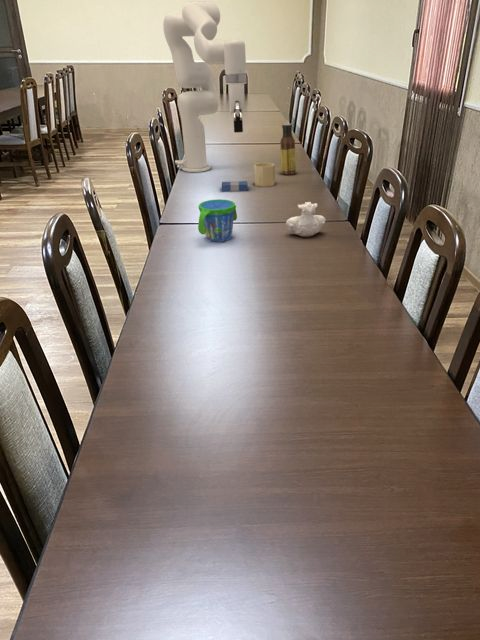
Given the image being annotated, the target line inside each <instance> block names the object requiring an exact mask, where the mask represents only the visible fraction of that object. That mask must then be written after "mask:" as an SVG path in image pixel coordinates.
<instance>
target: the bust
mask: <svg viewBox="0 0 480 640" xmlns="http://www.w3.org/2000/svg"><path fill="white" fill-rule="evenodd" d="M297 208H298V210H299V209H300V210H301V213H300V214H301V215H298V216H292V217H290V218H288V219H287V220H286V221H285V226H286V227H285V228H286V231H287V232H288V233H289V234H291V235H297V236H300V237H304V238H309V237H313V236H314V235H316V234H318V233H319V232H320V231H321V230H322V229H323V226H324V225H325V223H326V217H324V215H321V214H316V209H317V208H318V203H316V202H315V203H312V202H311V201H305V202H304V203H301V204H297Z"/></svg>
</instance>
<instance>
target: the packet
mask: <svg viewBox="0 0 480 640" xmlns="http://www.w3.org/2000/svg"><path fill="white" fill-rule="evenodd" d="M248 184H249V183H248V180H241V181H238V180H237V181H236V180H235V181H234V180H233V181H221V192H223V193H224V192H247V191H248V190H249V185H248Z"/></svg>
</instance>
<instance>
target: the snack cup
mask: <svg viewBox="0 0 480 640" xmlns="http://www.w3.org/2000/svg"><path fill="white" fill-rule="evenodd" d="M197 208H198V210H199V217H198V224H197V230H198V233H199V234H200V235H205V237H206V238H207V240H209V241H211V242H225V241H228V240H230V239H232V236H233V228H234V222H235V221H237V219H238V213H237V205H236V202H235V201H233V200H230V199H221V198H220V199H219V198H217V199H208V200H205V201H202V202H201V203H199V204H198V207H197Z"/></svg>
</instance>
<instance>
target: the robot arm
mask: <svg viewBox="0 0 480 640" xmlns="http://www.w3.org/2000/svg"><path fill="white" fill-rule="evenodd" d="M220 22H221V11H220V8H219V6H218V5H217V4H216V3H215V2H214V1H210V0H209V1H208V0H207V1H204V0H203V1H197V0H196V1H195V0H193V1H189V2H187V3H185V4H184V5H183V7H182V9H181V11H173V12H170V13H168V14H166V15H165V16H164V18H163V23H162V24H163V25H162V26H163V27H162V28H163V29H162V30H163V35H164V38H165V40H166V43H167V45H168V48H169V50H170V54H171V58H172V64H173V69H174V74H175V79H176V83H177V85H178V87H180V88H182V89H198V88H199V89H201V90H190V91H189V90H188V91H184V92H182V93H180V94H179V95H178V97H177V100H176V101H177V108H178V111H179V116H180V122H181V129H182V130H181V132H182V140H183V151H184V152H183V153H184V154H183V155H184V158H183V159H182V160H181V159H180V160H179V159H178V160H176V159H175V160H174V165H175V166H182V167H181V169H182V171H184V172H187V173H200V172H206V171H209V170H211V165H210V164H208V163H207V161H208V160H207V148H206V146H207V145H206V133H205V132H206V131H205V125H204V123H203V122H202V120H201V119H200V118H199V116H207V115H213V114H216V113H217V112H218V110H219V97H218V91H217V85H216V80H215V74H214V70H213V68H212V66H211V65H219V64H220V65H221V64H224V74H225V75H224V77H225V85H228V103H229V114H230V115H233V132H234V133H243V132H244V125H243V117H242V116H243V115H242V114H244V107H245V93H244V85H246V84H247V62H246V61H247V59H246V43H245V41H244V40H243V39H215V37H216V36H217V33H218V25H220ZM183 37H193V45H194V49H195V52H196V54H197V55H198V57H199V58H200V59H201V60H202V61H195V59H194V55H193V50H192V48H191V46H190V45H189V43H188V42H187V41H186V40H185V39H184V38H183Z"/></svg>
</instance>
